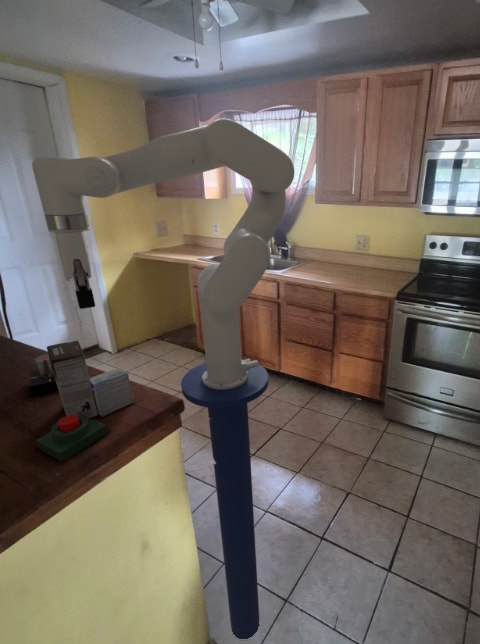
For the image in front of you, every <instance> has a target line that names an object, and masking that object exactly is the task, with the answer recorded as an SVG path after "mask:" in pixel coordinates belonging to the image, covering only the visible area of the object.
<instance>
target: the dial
mask: <svg viewBox="0 0 480 644" xmlns="http://www.w3.org/2000/svg"><path fill="white" fill-rule="evenodd" d="M34 362H35V365H36V367H37V370H38V371H39V374H40V377H41V378H44V379H47V378H52V377H54V373H53V370H52V366H51V363H50V359H49V355H48V353H46V354H41V355H39V356H37V357H35V359H34Z"/></svg>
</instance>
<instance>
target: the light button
mask: <svg viewBox="0 0 480 644" xmlns="http://www.w3.org/2000/svg"><path fill="white" fill-rule="evenodd" d="M57 422H58V425H59V428H60V431H62V432H68V431H71V430H74V429H76V428H78V427H79V425H80V422H79V419H78V416H77V415H68V416H66V415H65V416H63V417H61V418H60V419H58V421H57Z"/></svg>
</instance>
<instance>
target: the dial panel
mask: <svg viewBox="0 0 480 644" xmlns="http://www.w3.org/2000/svg"><path fill="white" fill-rule="evenodd" d="M28 389H29V393H30V395H31V398H32V397H38V396H41V395H46V394H51V393H55V392H59V390H58V387H57V384H56V381H55V377H52V378H47V379H44V378H41V377H40V374H39V371H38V369H37V370H32V371H30V374H29V382H28Z"/></svg>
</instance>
